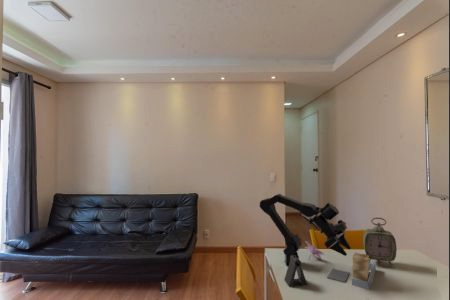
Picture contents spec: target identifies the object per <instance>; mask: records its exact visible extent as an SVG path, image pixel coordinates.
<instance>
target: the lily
mask: <svg viewBox="0 0 450 300" xmlns="http://www.w3.org/2000/svg"><path fill="white" fill-rule="evenodd" d="M305 243H306V245H307V246H304V248H305V249H306V250H308V251H309V252H310V255H309V258H308V260H310V258H311V256H317V257H318V258H319V259H320V260H322V257H321V256H322V255H324V256H325V253H324V252H322V251H321V250H319V249H317V248H316V246H315V245H312V244H311V243H310V242H308V241H306V240H305Z"/></svg>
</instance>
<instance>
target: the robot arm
mask: <svg viewBox="0 0 450 300" xmlns="http://www.w3.org/2000/svg"><path fill="white" fill-rule="evenodd" d="M277 203H279V204H282V205H285V206H287V207H290V208H292V209H294V210H297V211H298V212H299V213H301V215H303V216H305V217H307V218H308V219H309V225H311V224H314V225H315V226H316V227H317V228H318V229H319V230H320V233H321V234H323V235H324V236H325V237H326V240H325V241H324V243H323V244H324V246H325V248H327V249H329V250H333V251H335V252H336V253H338V254H341V255H343V256H345V257H346V256H347V255H348V254H347V252H346V250H345V249H344V248H346V249H348V250H351V246H350V244H349V242H348V241H347V238H346V232H345V231H346V230H347V229H348V227H347V225H346V224H347V223H346V222H345V221H343V220H342V219H339V220H338V221H337V223H335V224H334V223H332V222H329V221H331V220H333V219H334V218H335V217H336V216H337V215H339V214H340V211H339V209H338V208H337V207H336V206H334V205H333V204H331V203H330V202H327V203H326V204H325V205H324V206H323V207H319V206H316V205H315V204H313V203H308V202H301V201H298V200H295V199H293V198H290V197H288V196H285V195H282V194H281V193H277V194H275V195H274V196H272V197H270V198H269V197H268V198H265V199H262V200H260V202H259V208H260V209H261V210H262V212H264V213H265V214H266V215H268V216H269V217H270V220H272V222H273V223H274V225H275V226H276V228H277V229H278V231H279V233H281V235H282V237H283V239H284V241H285V245H286V247H285V248H284V249H283V254H284V260H283V261H284V264H285V265H286V267H288V266H289V263H290V256H291V255H293V256H294V255H295V256H296V257H297V258H298V259H299V260H300V257H299V253H298V252H299V250H300V249H301V248H302V247H303V246H302V245H303V242H302V239H301V238H300V237H299V235H298V234H297V233H296V234H294V233H293V232H291V230H290V229H289V227H288V226H287V225H286V223H285V222H284V220H283V219H282V218H281V216H280V214H279V213H278V211H277V208H276V205H275V204H277ZM328 220H329V221H328ZM343 247H344V248H343ZM295 256H294V258H295Z"/></svg>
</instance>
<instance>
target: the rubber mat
mask: <svg viewBox="0 0 450 300" xmlns="http://www.w3.org/2000/svg"><path fill="white" fill-rule="evenodd" d="M349 275H350V272H348V271H345V270H340V269H337V268H336V269H335V268H332V269H331V270H330V271H329V274H328V275H327V277H326V278H327V279H328V280H333V281H337V282H339V283H346V282H347V280H348V277H349Z"/></svg>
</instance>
